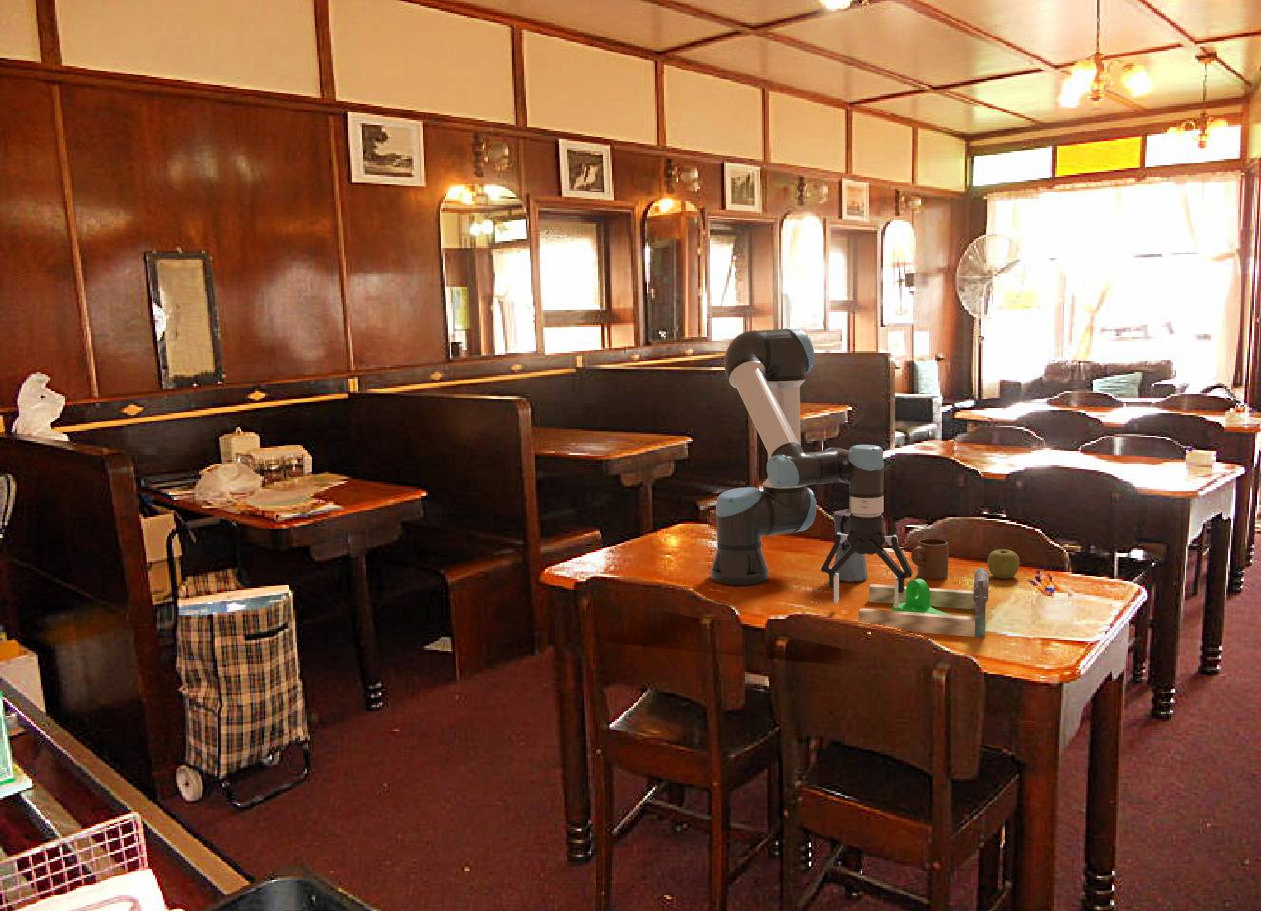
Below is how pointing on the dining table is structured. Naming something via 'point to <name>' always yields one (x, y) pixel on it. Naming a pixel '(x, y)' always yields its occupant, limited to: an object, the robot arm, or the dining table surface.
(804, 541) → the dining table surface
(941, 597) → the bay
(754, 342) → the robot arm
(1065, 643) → the dining table surface
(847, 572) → the moka pot
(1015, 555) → the apple
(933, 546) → the mug
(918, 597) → the mechanical part
